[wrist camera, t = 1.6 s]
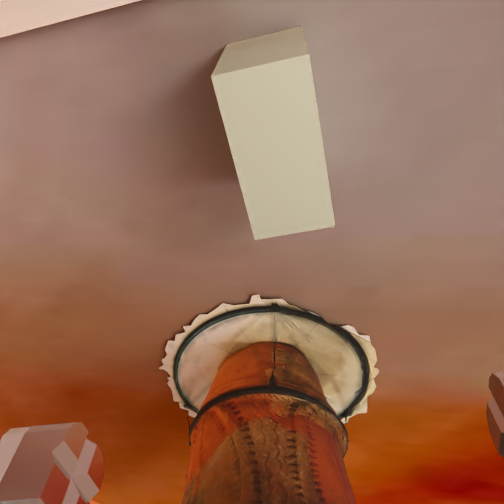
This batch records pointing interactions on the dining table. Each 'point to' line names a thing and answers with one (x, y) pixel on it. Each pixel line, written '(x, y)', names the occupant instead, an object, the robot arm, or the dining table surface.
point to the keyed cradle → (47, 12)
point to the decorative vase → (269, 403)
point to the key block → (275, 133)
